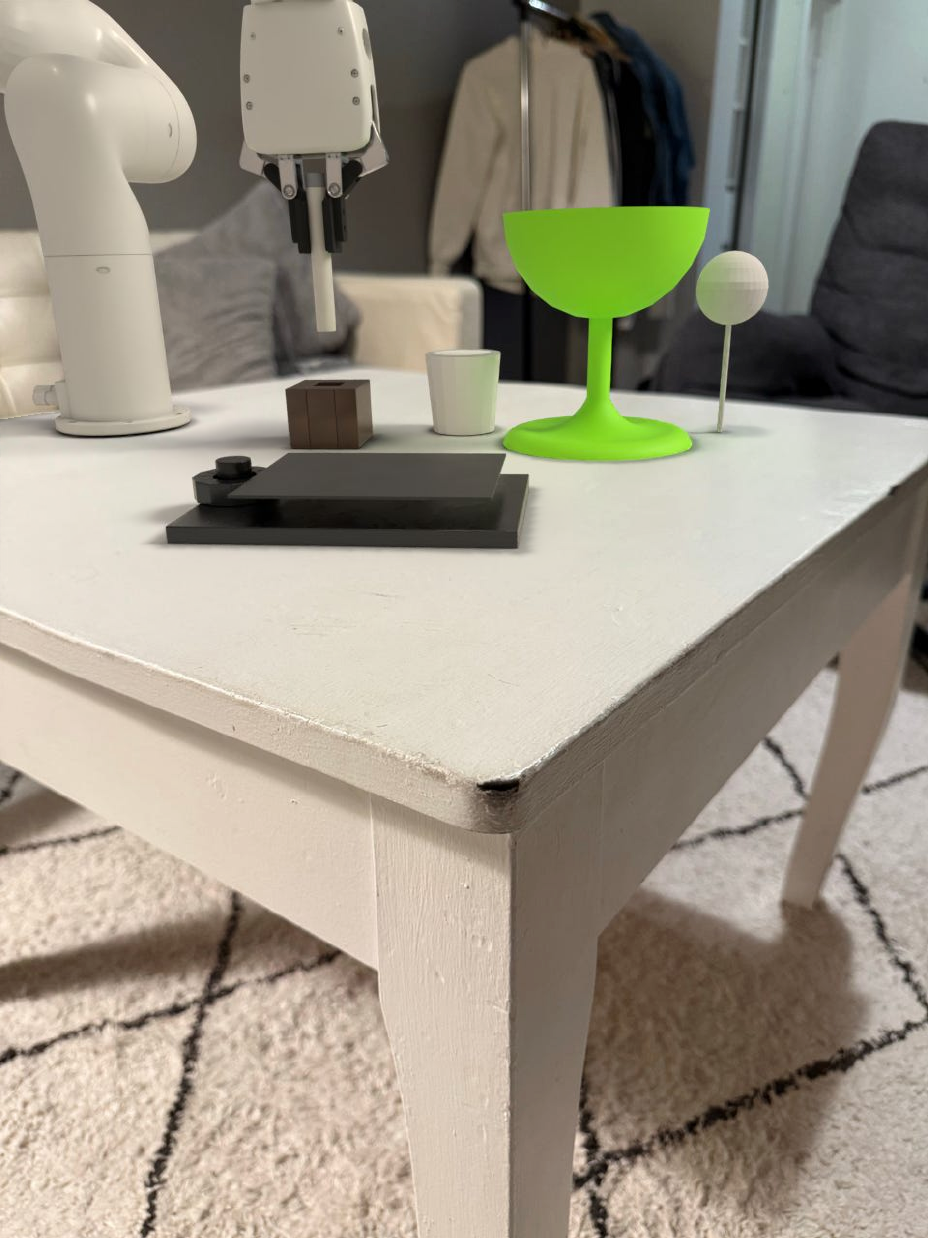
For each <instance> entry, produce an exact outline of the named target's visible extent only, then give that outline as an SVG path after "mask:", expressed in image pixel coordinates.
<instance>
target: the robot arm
mask: <svg viewBox="0 0 928 1238" xmlns="http://www.w3.org/2000/svg"><path fill="white" fill-rule="evenodd" d="M354 1H355V0H250V4H246V5H244V6H243V10H242V20H241V30H240V31H241V33H240V50H239V51H240V53H239V57H240V58H239V75H240V77H239V78H240V79H239V80H240V106H241V107H240V108H241V118H242V119H241V120H242V121H241V122H242V131H243V136H244V137H243V141H242V146H241V150H240V155H239V160H238V164H239V167H240V168H241V169H242V170H244V171H247V172H249V173H252V174H255V175H257V176H260V177H263V178H265V179H267V180H268V181H269V182H270V183H271V184H272V185H273V186H274V187H275V188H276V189H277V190H278V191H279V192H280V193H281V195H282V196H283V197H284V198H285V199H286V200H287V202H288V214H289V215H288V216H289V226H290V239H291V243H292V244H297V251H298V254H300V255H311V245H310V232H309V220H308V207H307V195H306V183H305V173H304V163H303V160H312V159H313V160H314V159H325V177H326V191H325V195H326V198H323V200H322V216H323V229H324V243H325V251H328V253H331V254H342V253H343V243H347V242H348V237H349V236H348V235H349V234H348V222H347V221H348V219H347V208H346V207H347V206H346V200H347V199H348V198H349V197H350V194H351V192H352V191H353V190H354V188H355V187H356V186H357V184H358V183H359V182H360V181H361V180H362V179H363V177H365V176H366V175H368V174H371V173H373V172H376V171H377V170H379V169H381V168H383V167H386V166H387V165H388V164H389V163H390V156H389V154H388V151H387V148H386V146H385V144H384V140H383V138H382V136H381V127H380V126H381V125H380V123H381V122H380V113H379V102H378V93H377V81H376V74H375V65H374V58H373V52H372V44H371V39H370V34H369V27H368V23H367V17H366V14H365V11H364V8H363V7H362V6H360V5H359V4H358V3H356V2H354ZM0 94H3V109H4V116H5V121H6V126H7V129H8V133H9V136H10V138H11V142H12V145H13V147H14V150H15V153H16V155H17V157H18V161H19V163H20V166H21V169H22V172H23V174H24V178H25V181H26V184H27V188H28V191H29V194H30V198H31V202H32V206H33V211H34V215H35V221H36V225H37V230H38V235H39V236H38V237H39V241H40V248H41V253H42V257H43V262H44V267H45V273H46V279H47V285H48V289H49V296H50V301H51V307H52V308H51V309H52V312H53V313H52V314H53V319H54V325H55V330H56V335H57V341H58V346H59V352H60V358H61V364H62V371H63V376H64V379H61V380H58V381H55V382H54V384H35V386H34V387H33V389H32V395H31V397H32V402H33V404H34V405H35V406H41V407H43V406H56V407H58V410H59V415H58V416H57V417H55V418H54V425H55V429H56V430H57V431H58V432H59V433H62V434H66V435H74V436H91V437H92V436H94V437H96V436H97V437H99V436H101V437H102V436H103V437H104V436H121V435H134V434H135V435H137V434H143V433H152V432H159V431H165V430H170V429H174V428H178V427H181V426H184V425H186V424H188V423H189V422H191V419H192V418H191V410H190V409H189V408H188V407H186V406H181V405H174V403H173V395H172V388H171V382H170V373H169V367H168V366H169V365H168V358H167V352H166V343H165V336H164V330H163V322H162V315H161V314H162V313H161V307H160V300H159V291H158V284H157V278H156V277H157V276H156V271H155V270H156V269H155V262H154V255H153V249H152V242H151V235H150V232H149V227H148V224H147V221H146V218H145V215H144V212H143V209H142V207H141V205H140V203H139V201H138V199H137V197H136V195H135V193H134V192H133V190H132V188H131V186H130V183H137V184H162V183H168V182H171V181H174V180H176V179H179V177H181V176H183V174H185V172H186V171H187V170H188V169H189V168H190V166H191V165H192V164H193V162H194V159H195V155H196V153H197V145H198V135H197V128H196V123H195V119H194V115H193V113H192V109H191V107H190V105H189V104H188V101H187V100H186V98H185V96H184V94H183V93H182V92H181V90H180V89H179V87H178V86H177V85H176V84H175V82H173V80H172V79H171V78H170V77H169V76H168V74H166V72H165V71H163V70H162V68H160V66H159V65H158V64H157V63H156V62H155V61H154V60H153V59H152V58H151V57H150V56H149V55H148V54H147V53H146V52H145V50H143V48H141V46H140V45H139V44H138V43H137V42H136V41H135V40H134V39H133V37H131V36H130V34H128V33H127V31H125V30H124V29H123V28H122V26H121V25H119V23H118V22H117V21H116V20H115V19H114V18H112V17H111V15H109V13H107V12H106V11H105V10H104V9H102V8H101V7H100V6H98V5H96V4H95V3H93V2H92V1H90V0H0ZM263 155H266V156H267V157H270V158H272V159H275V160H276V159H277V163H278V164H277V163H274V162H272V161H269V160H266V159H265V158H264V157H263ZM350 158H354V159H350ZM349 159H350V160H349Z"/></svg>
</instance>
